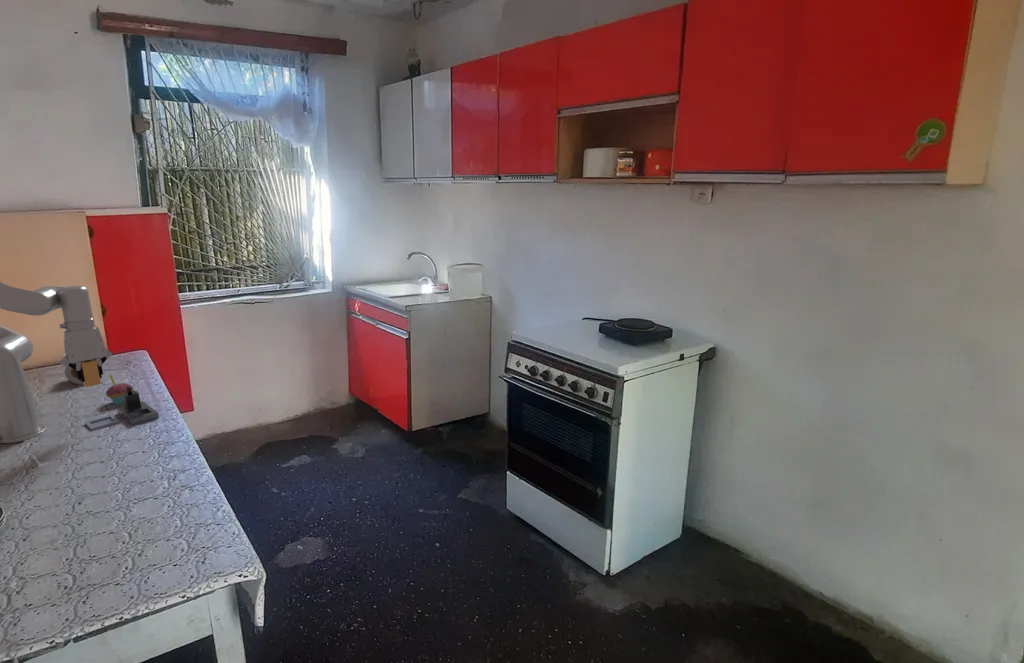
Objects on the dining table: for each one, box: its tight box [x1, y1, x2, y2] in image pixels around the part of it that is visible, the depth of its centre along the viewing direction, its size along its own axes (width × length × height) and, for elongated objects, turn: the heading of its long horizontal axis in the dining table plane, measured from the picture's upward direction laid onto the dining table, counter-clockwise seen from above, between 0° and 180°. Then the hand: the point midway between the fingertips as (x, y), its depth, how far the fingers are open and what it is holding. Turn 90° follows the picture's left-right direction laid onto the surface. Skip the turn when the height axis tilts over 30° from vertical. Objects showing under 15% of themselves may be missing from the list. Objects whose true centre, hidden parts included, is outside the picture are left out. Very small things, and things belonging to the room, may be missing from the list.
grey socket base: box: [116, 386, 160, 426], centre depth 200 cm, size 16×8×10 cm, turn 48°
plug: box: [81, 359, 102, 388], centre depth 190 cm, size 4×4×9 cm
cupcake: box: [105, 373, 135, 405], centre depth 213 cm, size 9×8×12 cm
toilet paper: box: [64, 361, 84, 385], centre depth 239 cm, size 10×10×10 cm
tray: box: [84, 414, 121, 431], centre depth 195 cm, size 8×8×1 cm
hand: (91, 378), depth 191 cm, fingers closed on plug, 4 cm apart
